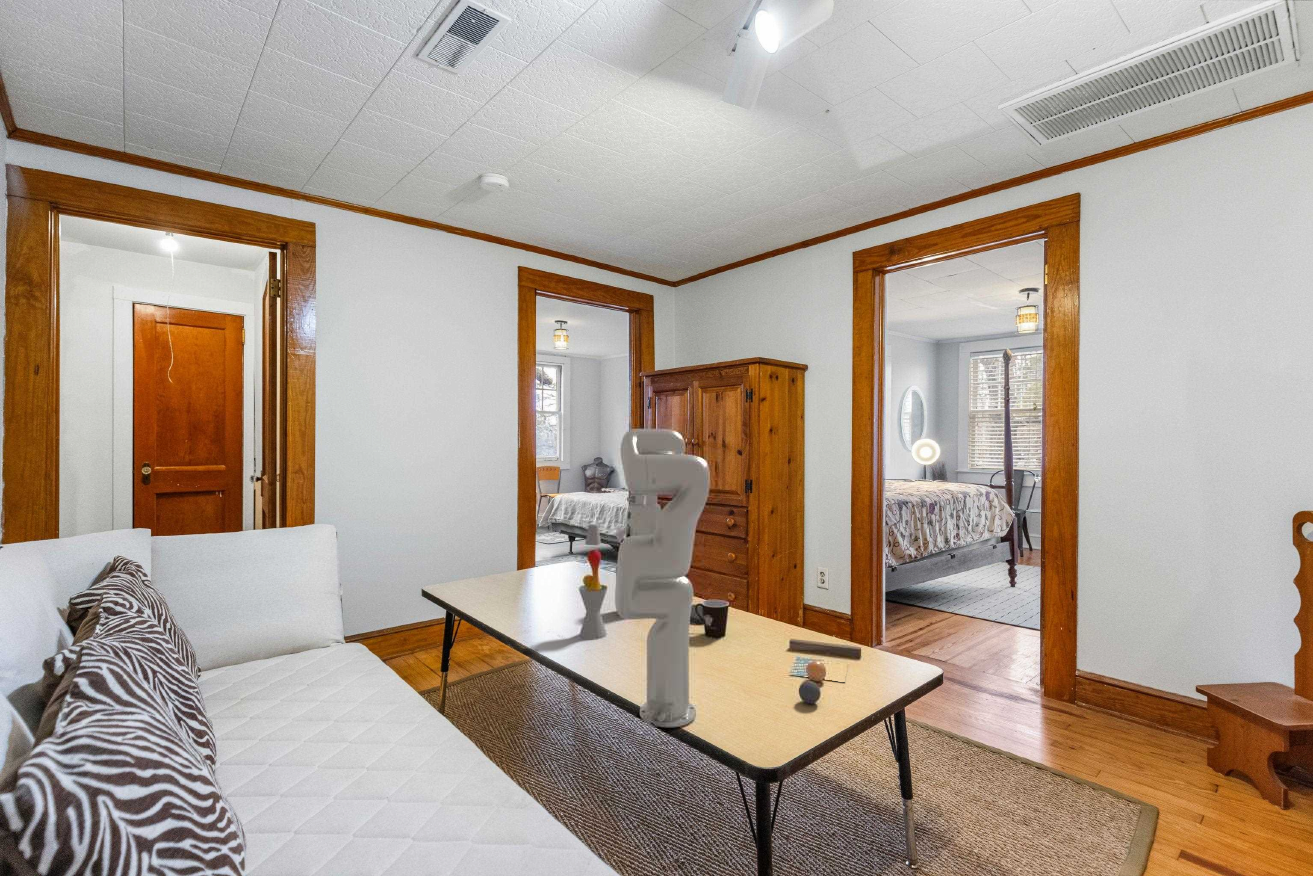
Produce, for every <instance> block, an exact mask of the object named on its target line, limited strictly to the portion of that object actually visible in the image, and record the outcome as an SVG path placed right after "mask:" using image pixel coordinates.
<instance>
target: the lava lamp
mask: <svg viewBox="0 0 1313 876" xmlns="http://www.w3.org/2000/svg"><path fill="white" fill-rule="evenodd" d="M601 544H602V542H601V534H600V529H599V524H597V523H589V524H588V526H587V531H586V539H585V545H587V546H600V545H601ZM586 559H587V561H588V563H589V565H590V568H591V573H592V574H586V575H585V576H584V577H582V582H583V585H581V586H579V587H578V591H579V594H580V596H581V600H582V603H583V606H584V609H585V611H586V612H585V615H584V619H583V622H582V626H581V629H580V632H579V637H580V638H581V639H584V638H586V639H585V640H600V639H603V637H604V638H605V637H606V635H608V633H607V630H606V626H605V623H604V620H603V617H602V614H601V609H602V606H603V604H604V603H603V602H604V600H605V596H606V594H607V590H608V586H607V585H605V584H601V582H600V577H599V567H600V563H601V560H602V554H601V552H600V551H599V550H595V549H593V550H590V551H589V552H588V554H587V557H586ZM599 638H600V639H599Z"/></svg>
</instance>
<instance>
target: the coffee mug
mask: <svg viewBox="0 0 1313 876" xmlns="http://www.w3.org/2000/svg"><path fill="white" fill-rule="evenodd" d="M695 605H696V606H695V611H696V613H697V615H698V616H699V618H700V619H701V620H702V621H703V622H704V624H703V627H704V636H705V635H706V636H705V637H707V636H708V637H707V638H710V637H712V638H711V639H721V638H720V637H722V638H724V637H726V634H727V633H726V631H727V622H728V617H729V616H728V613H729V607H730V606H729V605H730V602H728V601H725V600H722V599H721V600H720V599H707V600H703V601H701V603H697V604H695ZM698 605H701V606H702V612H703V618H702V617H701V616H700V615H699V613H698V611H697V606H698Z"/></svg>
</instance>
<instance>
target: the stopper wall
mask: <svg viewBox="0 0 1313 876" xmlns="http://www.w3.org/2000/svg"><path fill="white" fill-rule="evenodd" d="M791 649H793V650H792V651H799V650H803V651H802V652H807V651H810V652H809V653H815V652H816V653H817V654H823V653H830V654H829V655H831V654H837V655H836V656H839V655H844V656H843V657H848V656H855V657H854V658H856V657H861V658H862V647H861V646H856V645H846V644H838V643H829V642H823V641H822V642H821V641H813V640H806V639H805V640H804V639H797V638H796V639H795V638H794V639H793V638H790V639H789V650H791Z"/></svg>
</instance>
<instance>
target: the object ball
mask: <svg viewBox="0 0 1313 876" xmlns="http://www.w3.org/2000/svg"><path fill="white" fill-rule="evenodd" d="M806 672H807V675H808V677H809V678H808V679H810V681H812V682H821V681H824V680H823V679H824V678H825V676H826V668H825V666H824V664H823V663H821V662H819V661H812V662H810V663H809V664H808V665H807V668H806Z"/></svg>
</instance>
